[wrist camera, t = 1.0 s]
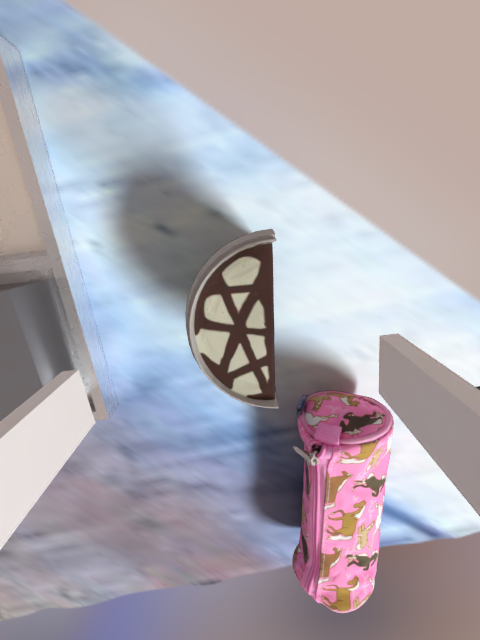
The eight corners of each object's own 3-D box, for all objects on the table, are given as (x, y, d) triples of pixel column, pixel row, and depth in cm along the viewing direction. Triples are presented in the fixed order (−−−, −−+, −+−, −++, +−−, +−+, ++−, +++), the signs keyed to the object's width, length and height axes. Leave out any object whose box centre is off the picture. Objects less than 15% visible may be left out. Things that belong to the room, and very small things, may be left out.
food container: (193, 231, 27) (168, 234, 17) (262, 228, 27) (276, 229, 17) (205, 358, 30) (190, 419, 21) (266, 355, 30) (278, 415, 21)
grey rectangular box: (9, 404, 31) (-33, 437, 26) (-37, 289, 27) (-96, 303, 22) (85, 395, 31) (57, 427, 26) (48, 278, 27) (8, 290, 22)
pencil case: (284, 384, 32) (300, 443, 23) (373, 380, 31) (422, 437, 23) (286, 536, 38) (299, 625, 30) (360, 532, 38) (395, 621, 29)
